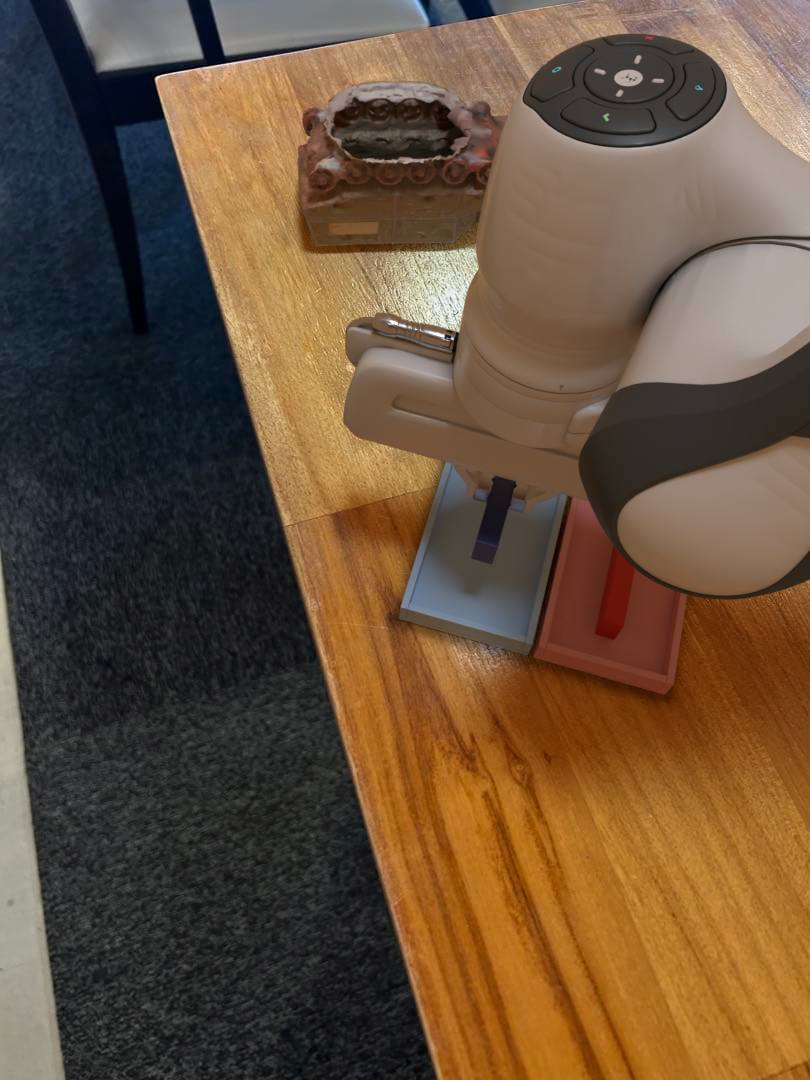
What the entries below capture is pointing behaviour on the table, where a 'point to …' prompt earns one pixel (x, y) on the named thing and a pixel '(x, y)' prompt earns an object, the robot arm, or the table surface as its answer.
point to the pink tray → (575, 605)
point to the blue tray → (481, 570)
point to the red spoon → (615, 596)
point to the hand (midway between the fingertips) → (500, 497)
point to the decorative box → (395, 164)
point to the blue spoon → (493, 520)
